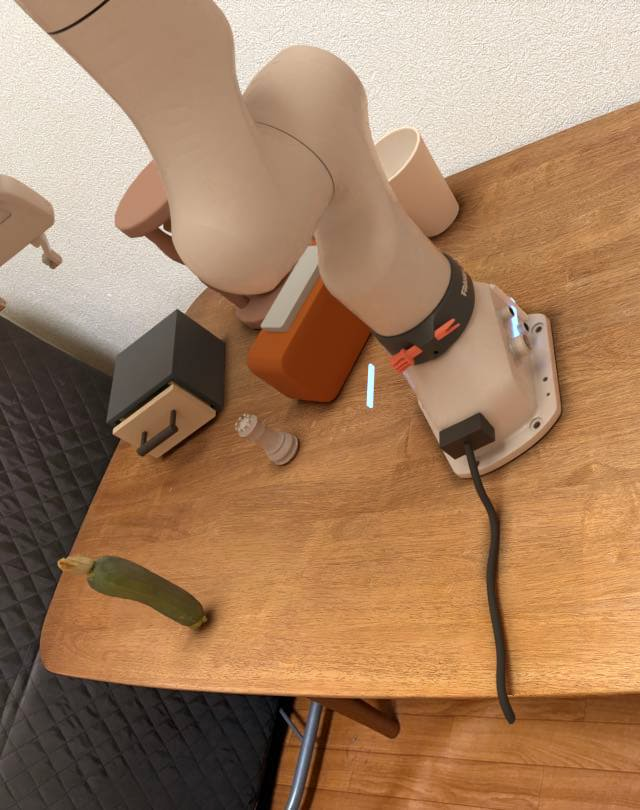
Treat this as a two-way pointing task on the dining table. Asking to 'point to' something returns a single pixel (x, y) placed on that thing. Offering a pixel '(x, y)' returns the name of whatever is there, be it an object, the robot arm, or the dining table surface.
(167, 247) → the hourglass
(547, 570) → the dining table surface
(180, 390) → the drawer
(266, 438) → the rook chess piece
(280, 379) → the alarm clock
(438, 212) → the cup
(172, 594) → the vegetable
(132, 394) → the cabinet
